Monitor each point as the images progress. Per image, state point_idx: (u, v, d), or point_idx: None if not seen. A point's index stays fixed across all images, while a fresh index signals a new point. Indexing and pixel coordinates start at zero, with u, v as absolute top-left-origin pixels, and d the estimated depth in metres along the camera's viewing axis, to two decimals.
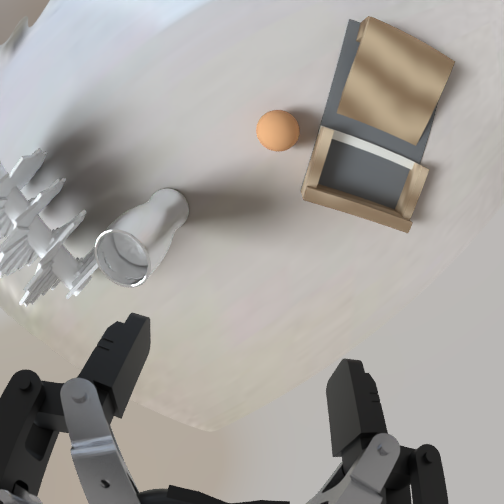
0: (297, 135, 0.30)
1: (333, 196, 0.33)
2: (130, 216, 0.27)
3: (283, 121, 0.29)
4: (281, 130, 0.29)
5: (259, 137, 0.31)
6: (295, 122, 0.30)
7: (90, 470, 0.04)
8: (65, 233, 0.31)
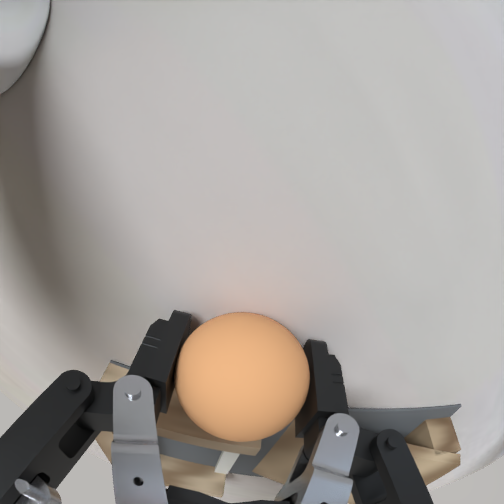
0: None
1: None
2: None
3: (271, 434, 0.08)
4: (241, 438, 0.08)
5: (209, 362, 0.08)
6: None
7: (126, 466, 0.05)
8: None
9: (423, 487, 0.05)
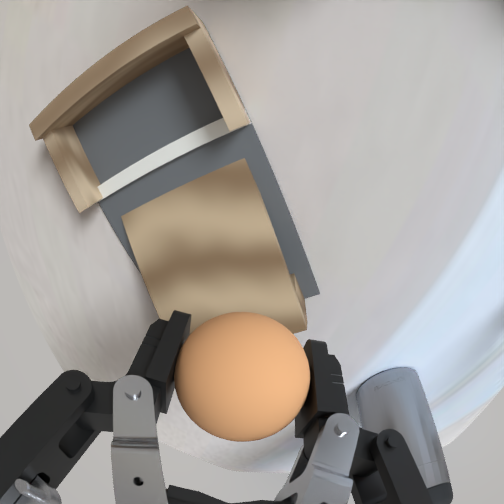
0: None
1: (149, 47, 0.13)
2: None
3: (272, 433, 0.08)
4: (241, 438, 0.08)
5: (209, 362, 0.08)
6: None
7: (126, 466, 0.05)
8: None
9: (423, 487, 0.05)
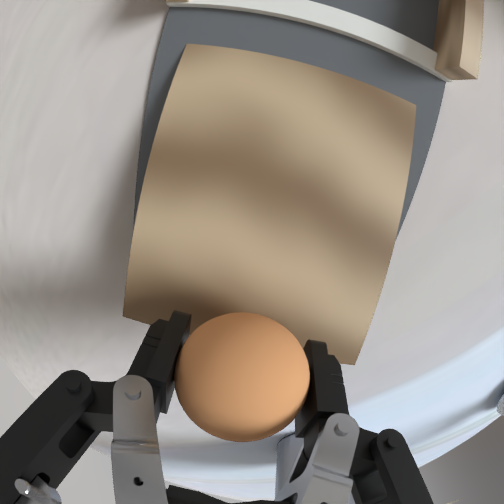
0: None
1: None
2: None
3: (271, 434, 0.08)
4: (241, 438, 0.08)
5: (209, 362, 0.08)
6: None
7: (126, 466, 0.05)
8: None
9: (423, 487, 0.05)
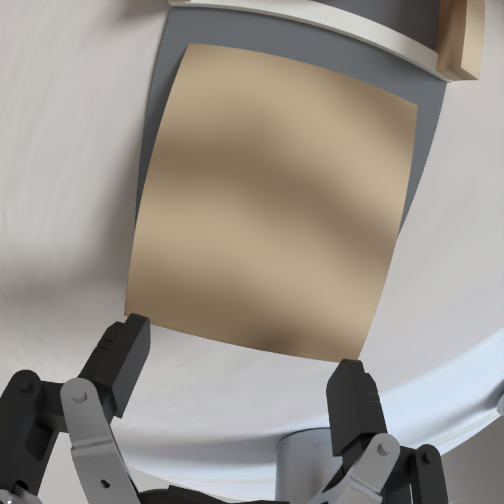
0: None
1: None
2: None
3: None
4: None
5: None
6: None
7: (90, 470, 0.04)
8: None
9: None
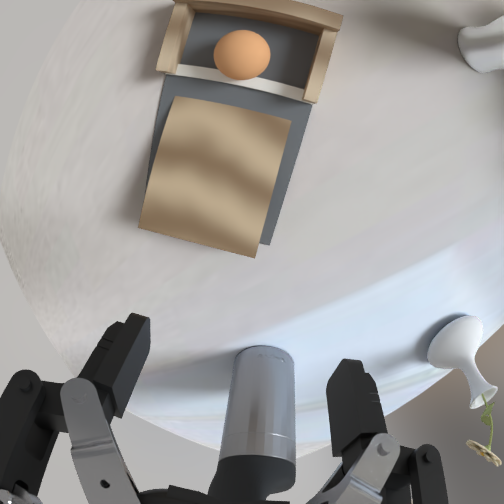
0: (240, 47, 0.19)
1: (302, 16, 0.17)
2: None
3: (260, 36, 0.19)
4: (250, 31, 0.19)
5: None
6: (259, 49, 0.19)
7: (90, 470, 0.04)
8: None
9: None
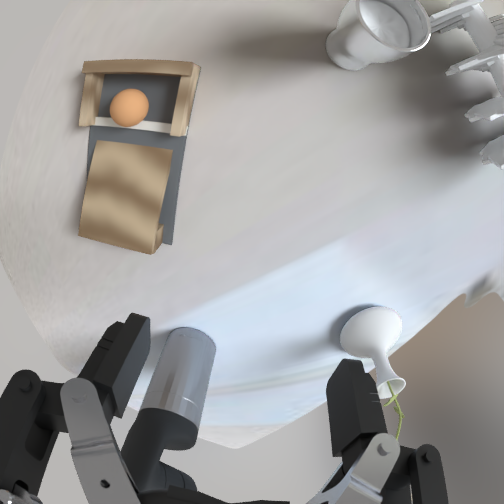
0: (121, 105, 0.27)
1: (161, 71, 0.26)
2: (381, 57, 0.18)
3: (137, 92, 0.28)
4: (130, 90, 0.28)
5: None
6: (133, 104, 0.28)
7: (90, 470, 0.04)
8: (471, 63, 0.17)
9: None
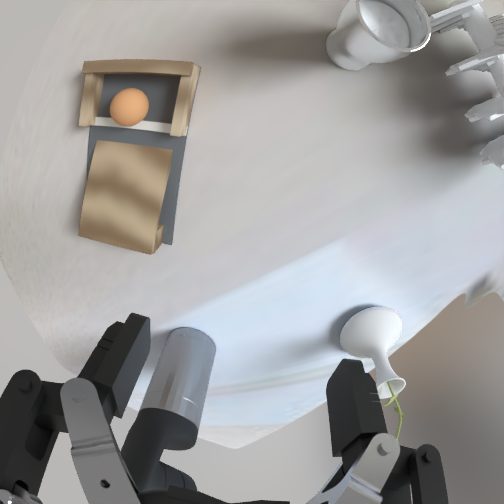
0: (121, 104, 0.27)
1: (161, 71, 0.26)
2: (381, 57, 0.18)
3: (138, 92, 0.28)
4: (130, 89, 0.28)
5: None
6: (134, 103, 0.28)
7: (90, 470, 0.04)
8: (471, 63, 0.17)
9: None
